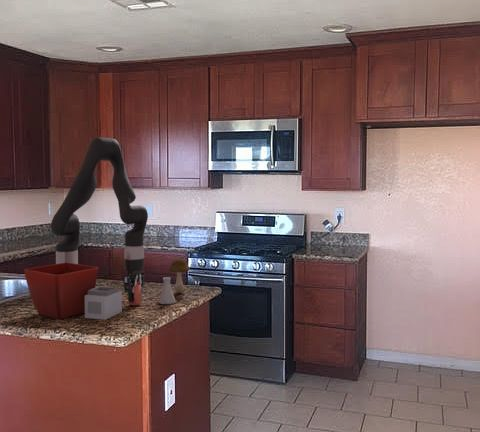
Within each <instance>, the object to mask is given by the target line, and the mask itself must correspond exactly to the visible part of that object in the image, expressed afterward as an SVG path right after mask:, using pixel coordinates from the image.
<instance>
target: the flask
mask: <svg viewBox="0 0 480 432" xmlns="http://www.w3.org/2000/svg"><path fill="white" fill-rule="evenodd" d="M162 280H163V284H162V290H161V293H160V296H159V298H158V302H157V303H158V304H161V305H172V304H176V298H175V296H174V292H173V290H172V287H171V277H170V276H169V277H167V276H166V277H163V278H162Z"/></svg>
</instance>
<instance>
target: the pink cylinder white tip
mask: <svg viewBox="0 0 480 432" xmlns="http://www.w3.org/2000/svg"><path fill="white" fill-rule="evenodd" d="M131 288H132V286H131ZM127 303H128V305H130V306H139V305H141V290H140V284H137V283H136V287H135V288H134V302H128V301H127Z"/></svg>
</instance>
